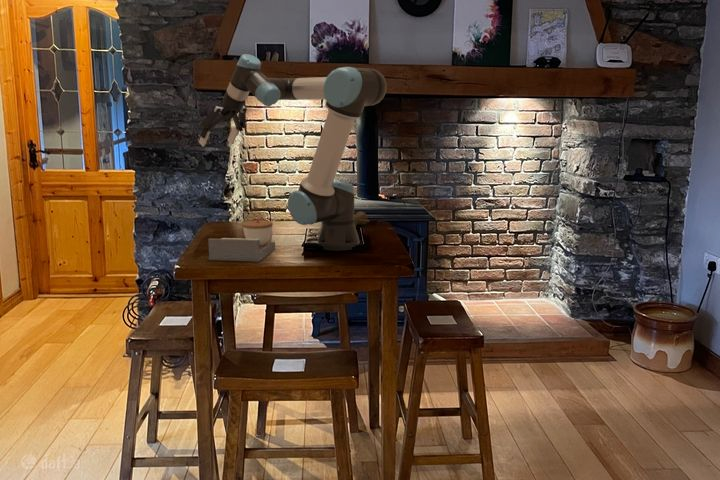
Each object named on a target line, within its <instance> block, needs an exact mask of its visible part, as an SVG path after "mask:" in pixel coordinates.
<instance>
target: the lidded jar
mask: <svg viewBox="0 0 720 480" xmlns="http://www.w3.org/2000/svg"><path fill="white" fill-rule="evenodd" d="M242 227H243V228H242V229H243V235H244V237H245V238H244V239H259V240H260V246H266V245H267V244H268V242H269V241H270V240H271V238H272V235H273V221H272V220H271V221H270V220H263V219H260V218H259V217H257V218H255V220H249V221H245V222H243V223H242Z"/></svg>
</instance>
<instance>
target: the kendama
mask: <svg viewBox="0 0 720 480" xmlns="http://www.w3.org/2000/svg"><path fill="white" fill-rule="evenodd" d="M367 223H370V220H369V219H368V215H367V214H366V212H364V211H362V210H361V211H357V212H355V213H354V225H355V228H357V225H358V226H365V225H366V224H367Z"/></svg>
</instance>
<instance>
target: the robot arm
mask: <svg viewBox="0 0 720 480" xmlns="http://www.w3.org/2000/svg"><path fill="white" fill-rule="evenodd" d="M261 66H262V62H261V61H260V59H259V58H258V57H256V56H255V55H252V54H250V53H249V54H248V53H247V54H246V53H245V54H242V55H240V57H239V59H238V61H237V63H236V66H235V69H234V71H233V73H232V77H231V79H230V81H229V83H228V85H227V89H226V91H225V93H224V94H223V95H224V96H223V98H222V105H221V106H218V105H217V104H215V105H214V106H213V108H212V110H211V111H210V112H209V113H208V114H207V116H206V117H205V118H204V119H203V120H202V121H201V122H200V124H199V125H198V127H200V128H201V133H200V138H199V140H198V143H199V144H200V145H201V147H203V148H204V147H205V146H206V144H207V141H208V138H209V136H210V135H211V130H212V129H213V128H214V127H216V126H217V125H218V124H219V123H220V122H221V121H225V120H227V119H231V120H233V124H234V126H233V127H232V129H231V131H230V133H229V136H228V138H227V142H228V143H230V145H234V142H235V140H236V139H237V136H239V133H240V132H243V130H244V129H246V127H247V119H246V117H247V115H246V114H247V110H248V109H247V108H246V106H245V103H246V100H247V98H248V96H249V94H250V93H251V94H252V95H253V96H254V97H255V98H256V100H257V101H258V102H260V103H261V104H262V105H264V106H265V107H272V105H275V104H276V103H278V102H279V101H299V100H300V101H302V100H303V101H305V100H306V101H307V100H310V101H312V100H314V101H315V100H319V101H320V100H325V101H326V102H325V106H326V108H327V110H328V111H327V115H326V119H325V120H324V125H323V127H322V131H321V134H320V137H319V140H318V144H317V146H316V149H315V153H314V156H313V159H312V162H311V165H310V168H309V171H308V175H307V177H305V178H302V179H301V181H300V185H299V187H298V190H294V191H293V192H292V193H290V194H289V196H288V198H287V208H288V211H289V214H290V217H291V218H292V219H293V221H295V223H297V224H298V225H302V226H309V225H310V226H311V225H314V224H319V223H321V226H320V230H319V233H318V236H317V240H316V243H317V242H318V243H319V244H321V245H322V246H323V247H324V248H325V249H324V251H330V252H331V251H336V252H337V251H338V252H340V251H341V252H342V251H351V250H353V249H352V247H354V246H355V245H357V244H359V243H360V238H359V234H358V231H357V229H356V228H357V227H356V228H355V225H354V217H355V196H356V195H355V188H354V185H353V184H352V183H349V182H339V181H335V179H336V175H337V172H338V170H339V167H340V163H341V161H342V158H343V154H344V152H345V149H346V146H347V143H348V141H349V137H350V134H351V132H352V128H353V126H354V123H355V121H356V120H357V119H359V118H361V117H362V114H363V111H364V108H365V107H369V106H370V107H371V106H375V105H377V104H379V103H380V102H381V101H382V100H383V99H384V97H385V95H386V93H387V88H388V86H387V82H386V78H385V77H384V75H383V74H382V73H381V72H380V71H379V70H378V69H377V70H376V69H374V68H371V67H370V68H368V67H365V68H364V67H353V66H343V67H337V68H336V69H333V70H332V71H331V72H330V73H329V74H327V76H322V77H321V76H320V77H318V76H316V77H298V78H297V77H291V78H290V77H289V78H288V77H287V78H285V77H283V78H280V77H277V78H275V77H267V76H266V75H265V74H264V73H263V72H262V71H261ZM238 114H239V115H238Z"/></svg>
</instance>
